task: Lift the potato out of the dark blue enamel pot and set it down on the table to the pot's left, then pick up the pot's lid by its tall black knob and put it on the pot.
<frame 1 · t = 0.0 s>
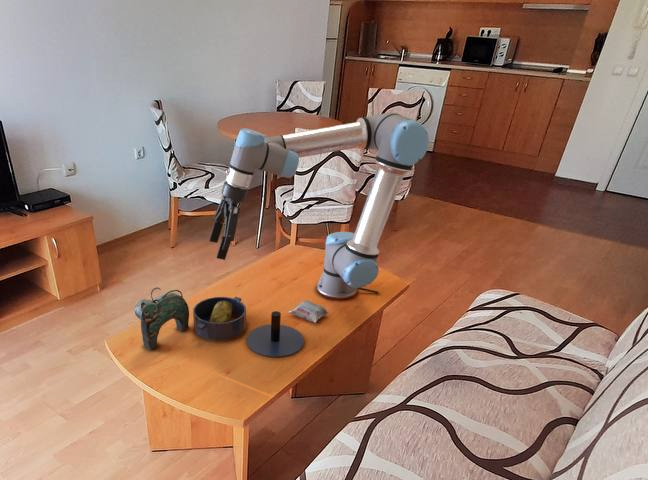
hand: (216, 250, 160), 28 cm above the table, tool tilted 20°, fingers open, 13 cm apart
lid: (275, 341, 166), point 1 cm above the table
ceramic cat: (165, 338, 170), on the table
potato: (220, 326, 175), resting on pot
pot: (220, 327, 175), on the table
packaged food: (308, 318, 179), on the table
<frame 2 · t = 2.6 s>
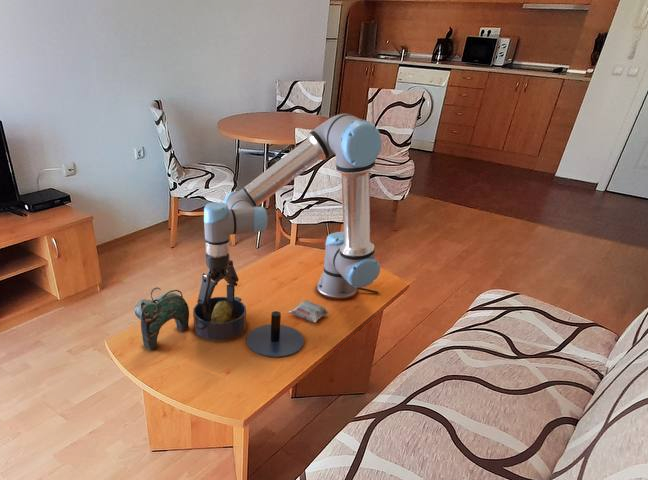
hand: (219, 310, 171), 6 cm above the table, tool pointing down, fingers open, 13 cm apart
potato: (220, 326, 175), resting on pot, touching gripper
everything else where it was.
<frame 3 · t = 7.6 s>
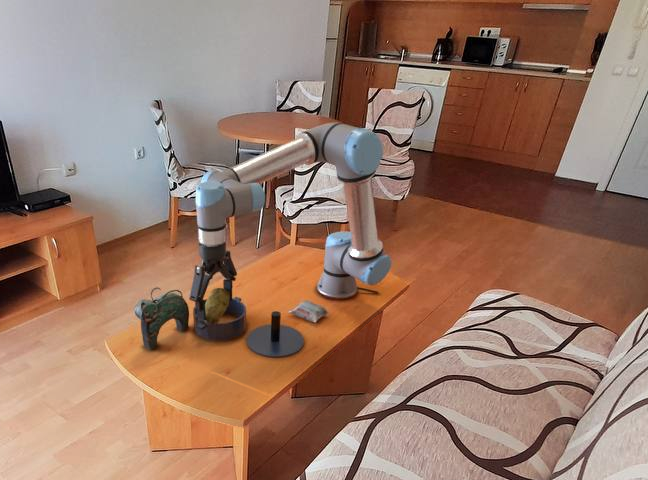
hand: (215, 309, 149), 18 cm above the table, tool pointing down, fingers closed on potato, 13 cm apart
potato: (215, 317, 151), point 15 cm above the table, touching gripper
everything else where it was.
when the fingers open (3 cm above the table, at t = 11.7 s): potato stays where it is, on the table.
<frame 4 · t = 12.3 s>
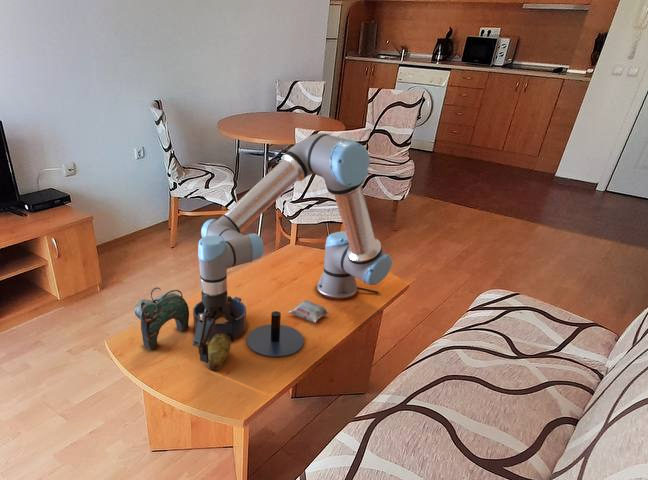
hand: (217, 350, 156), 4 cm above the table, tool pointing down, fingers open, 13 cm apart
potato: (217, 361, 159), on the table
everything else where it was.
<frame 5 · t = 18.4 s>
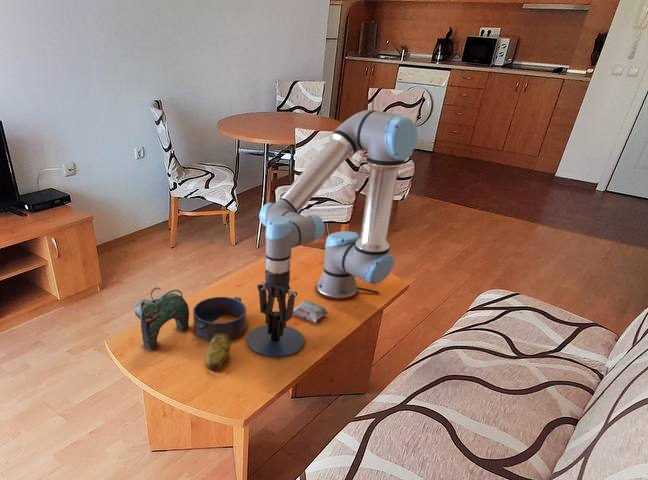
hand: (275, 334, 165), 3 cm above the table, tool pointing down, fingers closed on lid, 3 cm apart
lid: (275, 341, 166), point 1 cm above the table, touching gripper
everything else where it was.
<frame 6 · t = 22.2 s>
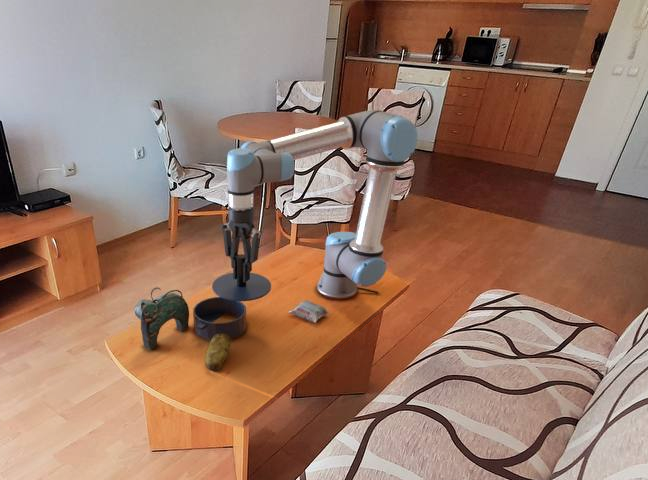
hand: (241, 279, 159), 21 cm above the table, tool pointing down, fingers closed on lid, 3 cm apart
lid: (241, 286, 161), point 18 cm above the table, touching gripper
everything else where it was.
when the fingers open (10 cm above the table, at t = 25.8 s): lid stays where it is, resting on pot.
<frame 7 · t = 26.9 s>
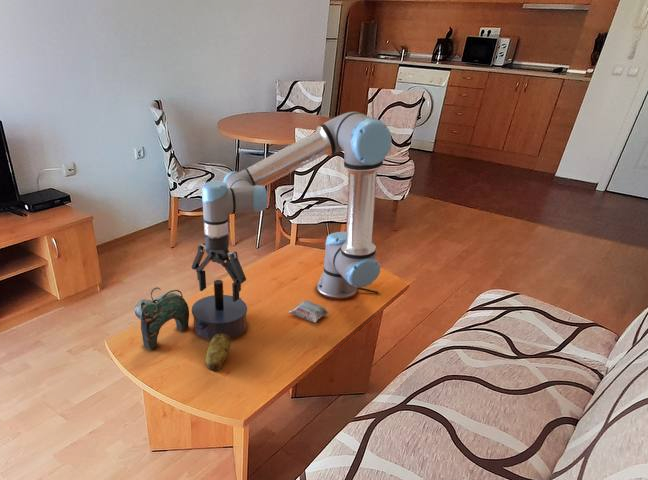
hand: (219, 294, 167), 13 cm above the table, tool pointing down, fingers open, 13 cm apart
lid: (219, 309, 171), point 7 cm above the table, touching pot
everything else where it was.
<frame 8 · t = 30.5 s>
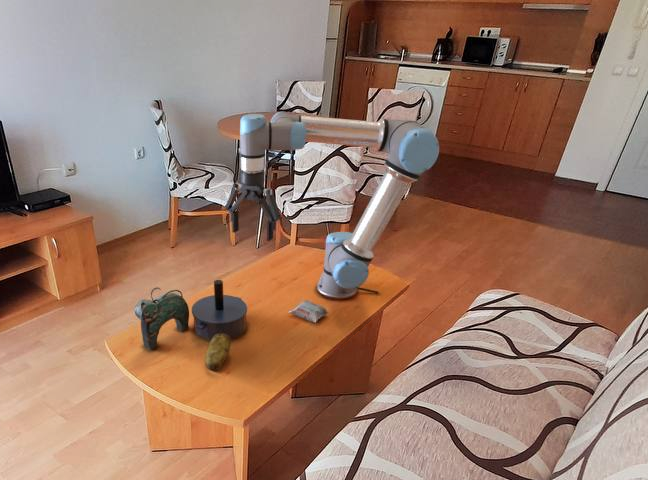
hand: (252, 235, 167), 29 cm above the table, tool pointing down, fingers open, 13 cm apart
nothing on the table moved.
at the end: potato inside the target area (0.1 cm from its centre), on the table; lid 0.1 cm off-centre on the pot, point 7.0 cm above the pot's base; lid tilted 0° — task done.
